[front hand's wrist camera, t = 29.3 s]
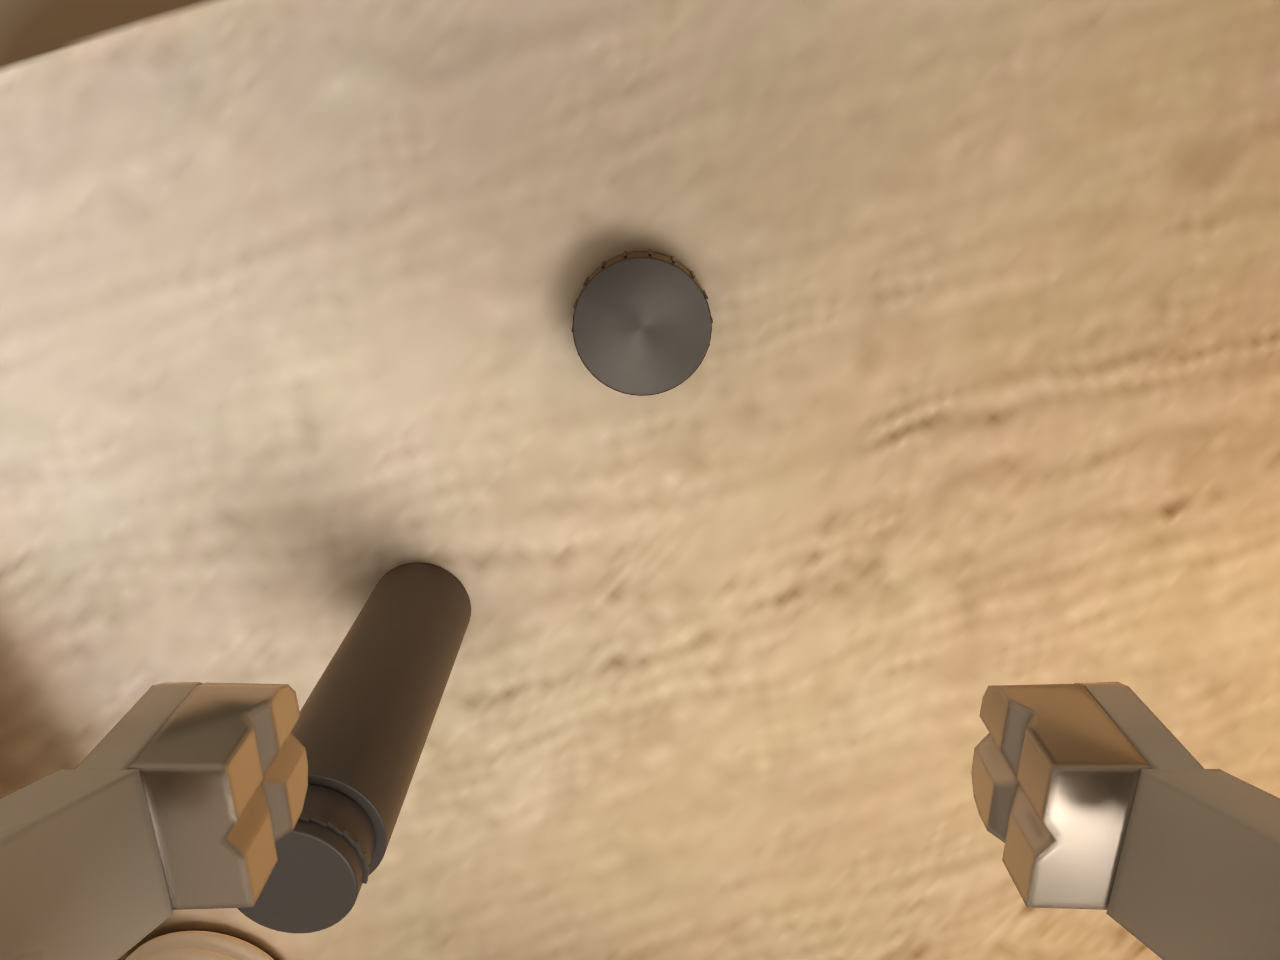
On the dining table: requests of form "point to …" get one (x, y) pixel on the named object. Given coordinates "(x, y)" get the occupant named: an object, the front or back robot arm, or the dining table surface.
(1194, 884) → the front robot arm
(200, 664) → the dining table surface
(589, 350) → the lid
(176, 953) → the cream short cylinder
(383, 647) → the brown cylindrical canister
